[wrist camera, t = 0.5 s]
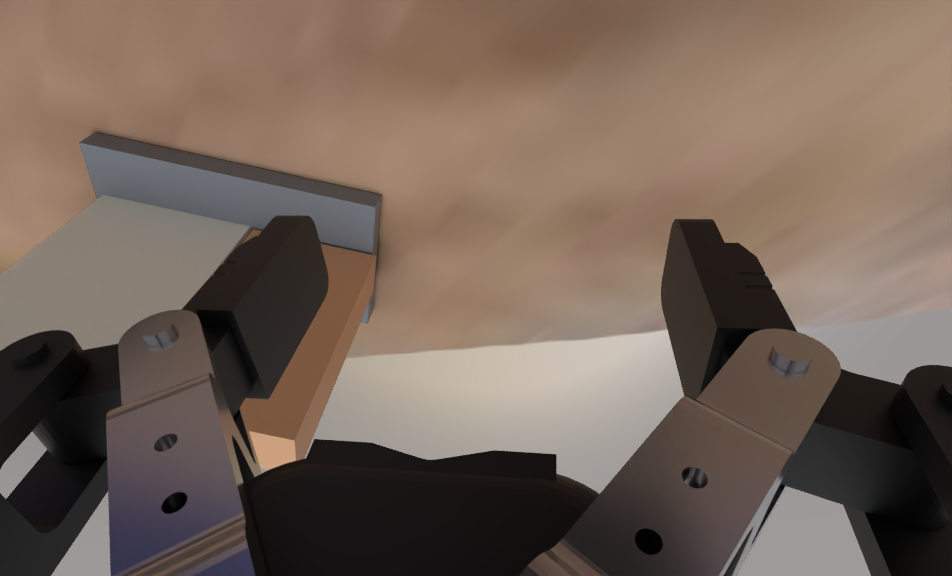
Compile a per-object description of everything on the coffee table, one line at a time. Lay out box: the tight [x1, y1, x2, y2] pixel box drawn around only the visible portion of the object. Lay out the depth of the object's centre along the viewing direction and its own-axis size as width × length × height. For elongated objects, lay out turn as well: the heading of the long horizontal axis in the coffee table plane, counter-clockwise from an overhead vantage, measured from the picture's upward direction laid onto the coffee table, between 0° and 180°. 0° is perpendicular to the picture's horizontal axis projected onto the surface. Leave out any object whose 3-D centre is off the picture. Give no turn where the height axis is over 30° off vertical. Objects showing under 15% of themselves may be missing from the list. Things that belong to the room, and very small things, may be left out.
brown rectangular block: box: [240, 229, 376, 470], centre depth 30 cm, size 3×8×14 cm, turn 80°
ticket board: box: [0, 132, 382, 351], centre depth 31 cm, size 10×18×16 cm, turn 80°
